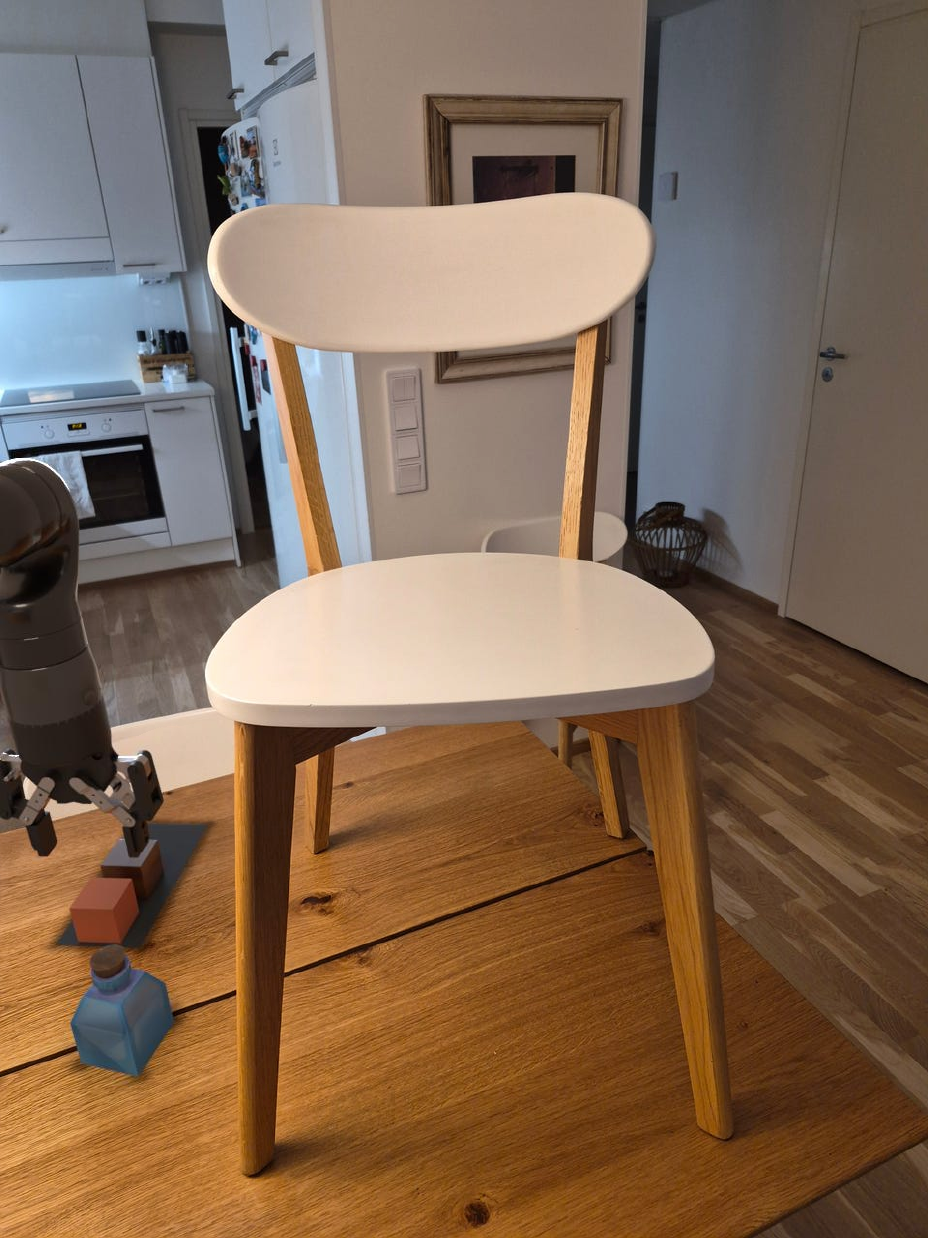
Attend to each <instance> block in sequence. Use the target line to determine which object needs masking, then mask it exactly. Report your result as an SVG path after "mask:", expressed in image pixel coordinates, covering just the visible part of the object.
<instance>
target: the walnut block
mask: <svg viewBox="0 0 928 1238" xmlns="http://www.w3.org/2000/svg"><path fill="white" fill-rule="evenodd" d="M100 870H101V874H102V875H103V878H119V879H132V882H133V886H134V890H135V895H136V899H148V898H149V896H150V895H151V893H152V891H153V890H154V888H155V886H156V884H157V883H158V881H159V879H160V878H161V876H162V874H163V872H164V869H163V864H162V859H161V855H160V850H159V845H158V840H149V843H148V844H147V846H146V847H145V849H144V851H143V852H141V854H140V856H139V857H138V858H130V857H129V856H128V851H127V847H126V843H125V838H118V840H117V841H116V842H115V844H114V845H113V847H112V848H111V849H110V851H109V852H108V854H107V855H106V857H105V858H104V859H103V861H102V862H101V864H100Z"/></svg>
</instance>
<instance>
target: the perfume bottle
mask: <svg viewBox="0 0 928 1238" xmlns="http://www.w3.org/2000/svg"><path fill="white" fill-rule="evenodd" d="M89 959H90V960H89V967H90V968H91V969H90V977H91V981H92V984H91V985H90V986H89V988H88V989H87V990H86V992H85V993H84V994H83V995H82V997H81V998H80V1001H79V1004H78V1005H77V1007H76V1009H75V1011H74V1014H73V1016H72V1018H71V1020H70V1022H69V1024H70V1028H71V1031H72V1035H73V1039H74V1042H75V1045H76V1049H77V1053H78V1056H79V1059H80V1063H81V1065H82V1064H83V1065H86V1066H91V1067H93V1068H94V1067H95V1068H99V1069H104V1070H107V1071H112V1072H116V1073H120V1074H124V1075H129V1076H134V1077H138V1078H139V1076H140V1075H141V1074H142V1072H143V1070H144V1069H145V1067H146V1066H147V1064H148V1063H149V1062H150V1060H151V1058H152V1057H153V1055H154V1053H155V1052H156V1051H157V1050H158V1048H159V1046H161V1043H162V1041H163V1040H164V1039H165V1037H166V1036H167V1034H168V1033H169V1031H170V1030H171V1028H172V1027H173V1025H174V1024H175V1019H174V1016H173V1011H172V1007H171V1001H170V998H169V992H168V987H167V983H166V982H165V981H163V980H161V979H159V978H157V977H156V976H154V975H153V974H151V973H149V972H147V971H146V970H142V969H136V968H132V966H131V962H130V958H129V956H127V952H126V949H125V947H122V946H120V945H108V946H105V947H100V948H99V949H97V950H96V951H95V952H94V953H93V954H92V955H91V957H90V958H89Z"/></svg>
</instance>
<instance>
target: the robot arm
mask: <svg viewBox="0 0 928 1238" xmlns="http://www.w3.org/2000/svg"><path fill="white" fill-rule="evenodd" d="M79 575H80V521H79V515H78V510H77V506H76V502H75V499H74V497H73V494H72V492H71V490H70V488H69V486H68V485H67V482H65V480H64V479H63V478H62V476H61V475H60V474H59V473H58V472H57V471H56V470H55V469H54V468H53V467H51V466H49V465H48V464H46V463H45V462H42V461H39V460H36V459H32V458H13V459H10V460H5V461H3V462H1V463H0V697H1V699H2V703H3V706H4V710H5V713H6V717H7V720H8V725H9V728H10V731H11V735H12V738H13V739H12V740H13V743H14V746H15V749H16V752H15V751H14V750H13V749H11V748H6V749H4V750H3V751H2V752H1V753H0V819H2V820H5V821H8V820H11V819H12V818H13V819H17V820H19V823H21V824H22V825H24V826H25V829H26V832H27V836H28V839H29V843H30V846H31V848H32V850H33V851H34V852H37V856H38V857H49V856H50V855H51V854H52V852H53V851H54V850H55V849H56V847H57V845H58V837H57V834H56V833H57V832H56V830H55V826H54V822H53V819H52V814H51V811H49V810H45V808H46V807H47V806H48V804H49V803H50V801H51V800H53V801H55V802H56V804H57V805H67V804H70V803H76V804H80V805H92V804H93V805H94V806H96V808H98V809H99V810H100V811H102V813H104V814H111V815H112V816H113V817H114V818H116V819H117V820H118V821H119V822H120V823H121V824H122V826H121V829H122V833H123V837H124V838H123V839H125V843H126V847H127V851H128V856H129V857H130V858H138V857H139V856H140V854H141V852H143V851H144V849H145V847H146V846H147V844H148V843H149V839H150V836H149V831H148V826H147V824H148V822H151V821H153V820H154V818H155V817H156V815H157V814H158V812H159V810H160V808H161V807H162V806H163V805H164V802H165V798H164V795H163V792H162V791H163V790H162V788H161V784H160V781H159V777H158V773H157V770H156V766H155V762H154V758H153V755H152V753H151V752H150V750H147V749H141V750H140V751H138V752H137V754H136V755H131V756H130V755H129V756H120V755H119V754H118V753H117V751H116V750H115V749H114V746H113V739H112V738H113V735H112V728H111V724H110V718H109V715H108V711H107V710H108V709H107V705H106V701H105V697H104V692H103V686H102V683H101V679H100V674H99V670H98V666H97V663H96V661H95V657H94V655H93V653H92V650H91V647H90V644H89V641H88V637H87V632H86V628H85V624H84V623H85V622H84V619H83V615H82V614H83V613H82V609H81V606H80V602H79V598H78V589H79V588H78V585H79ZM119 773H121V774H122V775H123V776H124V777H123V776H122V775H121V774H119ZM22 774H23V775H24V776H25V777H26V778H27V780H29V781H30V782H31V783H32V784H34V786H35V787H36V788H35V790H34V792H32V795H31V796H30V797H29V799H28V798H26V794H25V788H24V783H23V780H22ZM109 787H110V788H111V789H112V793H111V795H110V796H109V795H108V794H107V793H105V792H106V791H107V790H108V788H109Z"/></svg>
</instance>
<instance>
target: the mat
mask: <svg viewBox="0 0 928 1238" xmlns="http://www.w3.org/2000/svg"><path fill="white" fill-rule="evenodd" d="M147 826H148V831H149V836H150V839H149V840H158V845H159V850H160V855H161V859H162V864H163V869H164V872H163V874H162V876H161V878H160V879H159V881H158V883H157V884H156V886H155V888H154V890H153V891H152V893H151V895H150V896H149V898H148V899H136V895H135V890H134V886H133V882H132V879H119V878H103V874H102V875H101V876H100V877H90V878H89V879H88V880H87V882H86V883H85V885H84V886H83V888H82V889H81V891H80V892H79V894H78V895H77V896H76V898H75V899H74V901H73V902H72V904H71V905H70V907H69V912H70V913H69V914H70V916H71V921H70V922H69V924H68V925H67V927H66V928H65V929H64V931H63V933H62V934H61V935H60V937H59V938H58V940H57V941H56V942H55V946H72V947H73V946H74V947H75V946H76V947H100V948H102V947H105V946H108V945H120V946H122V947H123V948H129V949H131V948H133V949H142V946H143V944H144V943H145V940H146V939H147V937H148V935H149V934H150V932H151V929H152V928H153V926H154V925H155V922H156V920H157V919H158V917H159V915H160V914H161V911H162V910H163V908H164V906H165V904H166V902H167V900H168V898H169V897H170V895H171V893H172V891H173V889H174V887H175V886H176V884H177V883H178V880H179V878H180V877H181V875H182V873H183V871H184V869H185V867H186V866H187V864H188V862H189V861H190V858H191V856H193V855H192V854H193V853H194V852H195V849H196V847H197V846H198V844H199V842H200V840H201V838H202V837H203V834H204V833H205V831H206V829H207V827H208V824H182V823H181V824H179V823H178V824H177V823H147Z"/></svg>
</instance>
